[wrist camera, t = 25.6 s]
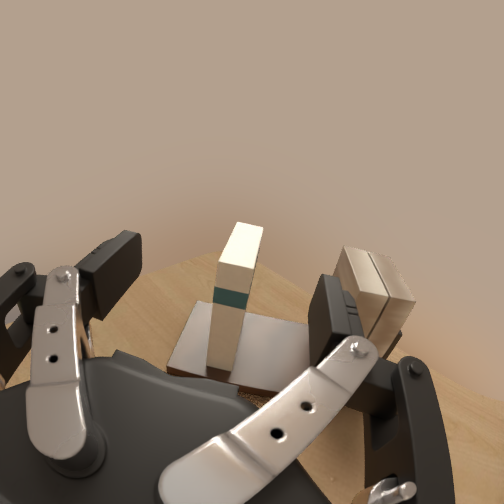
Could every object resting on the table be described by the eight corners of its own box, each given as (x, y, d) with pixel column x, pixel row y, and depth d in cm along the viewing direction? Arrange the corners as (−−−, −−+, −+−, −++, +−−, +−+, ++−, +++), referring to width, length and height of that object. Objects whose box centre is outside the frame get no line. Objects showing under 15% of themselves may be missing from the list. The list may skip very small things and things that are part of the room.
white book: (243, 320, 32) (264, 227, 26) (231, 372, 25) (254, 269, 19) (222, 315, 32) (237, 221, 27) (205, 365, 25) (217, 261, 19)
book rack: (359, 339, 33) (402, 254, 27) (373, 407, 24) (442, 316, 18) (196, 307, 34) (206, 209, 28) (167, 372, 24) (163, 258, 18)
